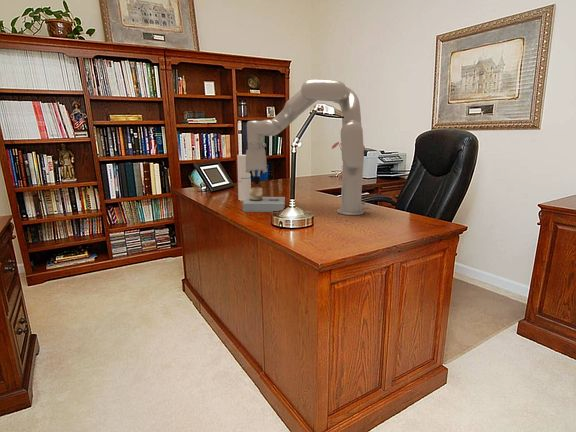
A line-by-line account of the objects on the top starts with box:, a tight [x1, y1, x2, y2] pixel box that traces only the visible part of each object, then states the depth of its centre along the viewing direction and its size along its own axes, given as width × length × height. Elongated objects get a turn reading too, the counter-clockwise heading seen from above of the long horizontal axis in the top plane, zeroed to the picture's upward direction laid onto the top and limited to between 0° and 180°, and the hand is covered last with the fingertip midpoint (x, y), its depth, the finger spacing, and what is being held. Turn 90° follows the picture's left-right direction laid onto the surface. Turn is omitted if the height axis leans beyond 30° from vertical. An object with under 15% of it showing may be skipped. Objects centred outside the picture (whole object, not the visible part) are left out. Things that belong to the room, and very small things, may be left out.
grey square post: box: [236, 154, 252, 202], centre depth 195 cm, size 7×7×25 cm
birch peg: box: [249, 186, 263, 201], centre depth 177 cm, size 6×6×10 cm
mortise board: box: [242, 196, 286, 213], centre depth 177 cm, size 20×18×4 cm
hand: (256, 184), depth 175 cm, fingers closed
